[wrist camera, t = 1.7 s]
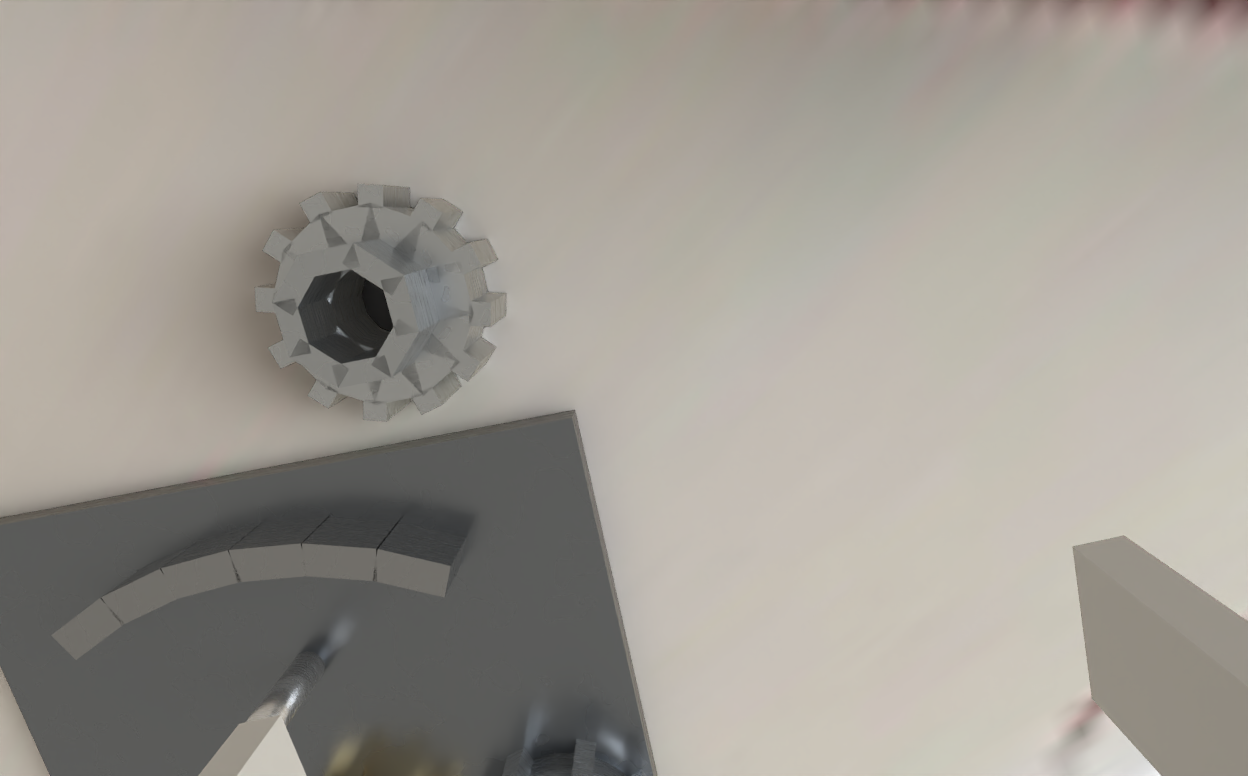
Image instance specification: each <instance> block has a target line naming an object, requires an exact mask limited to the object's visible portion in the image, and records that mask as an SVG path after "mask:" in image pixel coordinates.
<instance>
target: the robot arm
mask: <svg viewBox="0 0 1248 776" xmlns="http://www.w3.org/2000/svg"><path fill="white" fill-rule="evenodd" d="M1073 554H1074V562H1075V570H1076V577H1077V585H1078V593H1079V601H1080V609H1081V617H1082V625H1083V632H1084V640H1085V648H1086V656H1087V664H1088V672H1089V680H1090V688H1091V695H1092V699H1093V700H1094V701H1095V703H1096V704H1097V705H1098V706H1099V707H1100V708H1101V709H1102V710H1103V711H1104V712H1105V714H1106V715H1107V716H1108V717H1109V718H1110V719H1111V720H1112V721H1113V722H1114V724H1115V725H1116V726H1117V727H1118V728H1119V729H1120V730H1121V731H1122V732H1123V734H1124V735H1125V736H1126V737H1127V738H1128V739H1129V740H1130V741H1131V742H1132V744H1133V745H1134V746H1135V747H1136V748H1137V749H1138V750H1139V751H1140V752H1141V753H1142V755H1143V756H1144V757H1145V758H1146V759H1147V760H1148V761H1149V762H1150V763H1151V765H1152V766H1153V767H1154V768H1155V769H1156V770H1157V771H1158V772H1159V773H1160V775H1161V776H1248V621H1247V620H1245V619H1244V618H1242V617H1241V616H1239V615H1238V614H1237V613H1235V612H1234V611H1232V610H1231V609H1229V608H1228V607H1226V606H1225V605H1224V604H1222V603H1221V602H1219V601H1218V600H1216V599H1215V598H1213V597H1212V596H1211V595H1209V594H1208V593H1206V592H1205V591H1203V590H1202V589H1200V588H1199V587H1198V586H1196V585H1195V584H1193V583H1192V582H1190V581H1189V580H1187V579H1186V578H1185V577H1183V576H1182V575H1180V574H1179V573H1177V572H1176V571H1174V570H1173V569H1172V568H1170V567H1169V566H1167V565H1166V564H1164V563H1163V562H1161V561H1160V560H1159V559H1157V558H1156V557H1154V556H1153V555H1151V554H1150V553H1148V552H1147V551H1146V550H1144V549H1143V548H1141V547H1140V546H1138V545H1137V544H1135V543H1134V542H1133V541H1131V540H1130V539H1128V538H1127V537H1125V536H1120V537H1115V538H1110V539H1105V540H1101V541H1096V542H1091V543H1087V544H1082V545H1077V546H1073ZM198 776H306V773H305V771H304V769H303V766H302V764H301V761H300V759H299V757H298V754H297V752H296V750H295V747H294V745H293V743H292V740H291V738H290V736H289V733H288V731H287V728H286V726H285V724H284V721H283V719H282V717H281V715H278V716H273V717H269V718H264V719H259V720H254V721H250V722H245V723H240V724H239V725H238V726H237V727H236V728H235V730H234V731H233V732H232V733H231V735H230V736H229V737H228V739H227V740H226V741H225V742H224V744H223V745H222V746H221V747H220V749H219V750H218V751H217V752H216V754H215V755H214V756H213V758H212V759H211V760H210V761H209V763H208V764H207V765H206V766H205V768H204V769H203V770H202V772H201V773H200V774H199V775H198Z"/></svg>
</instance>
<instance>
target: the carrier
mask: <svg viewBox="0 0 1248 776" xmlns="http://www.w3.org/2000/svg"><path fill="white" fill-rule="evenodd" d="M0 666H1V668H2V671H3V673H4V675H5V677H6V679H7V682H8V684H9V686H10V688H11V690H12V693H13V695H14V697H15V699H16V701H17V704H18V706H19V708H20V710H21V712H22V715H23V717H24V719H25V721H26V723H27V726H28V728H29V730H30V732H31V734H32V737H33V739H34V741H35V743H36V745H37V748H38V750H39V752H40V754H41V756H42V759H43V761H44V763H45V765H46V767H47V770H48V772H49V774H50V776H198V775H199V774H200V773H201V772H202V770H203V769H204V768H205V766H206V765H207V764H208V763H209V761H210V760H211V759H212V758H213V756H214V755H215V754H216V752H217V751H218V750H219V749H220V747H221V746H222V745H223V744H224V742H225V741H226V740H227V739H228V737H229V736H230V735H231V733H232V732H233V731H234V730H235V728H236V727H237V726H238V725H239V724H240V723H245V722H250V721H254V720H259V719H264V718H269V717H273V716H278V715H281V717H282V719H283V721H284V724H285V726H286V728H287V731H288V733H289V736H290V738H291V740H292V743H293V745H294V747H295V750H296V752H297V754H298V757H299V759H300V761H301V764H302V766H303V769H304V771H305V773H306V776H657V771H656V767H655V762H654V758H653V753H652V749H651V745H650V740H649V736H648V731H647V727H646V722H645V718H644V714H643V709H642V705H641V700H640V696H639V691H638V687H637V683H636V678H635V674H634V669H633V665H632V660H631V656H630V652H629V647H628V643H627V638H626V634H625V629H624V625H623V621H622V616H621V612H620V607H619V603H618V598H617V594H616V590H615V585H614V581H613V576H612V572H611V567H610V563H609V559H608V554H607V550H606V545H605V541H604V536H603V532H602V528H601V523H600V519H599V514H598V510H597V505H596V501H595V497H594V492H593V488H592V483H591V479H590V475H589V470H588V466H587V461H586V457H585V452H584V448H583V444H582V439H581V435H580V430H579V426H578V421H577V417H576V413H575V410H572V411H567V412H561V413H556V414H551V415H546V416H540V417H535V418H530V419H524V420H519V421H514V422H508V423H503V424H498V425H492V426H487V427H482V428H476V429H471V430H466V431H460V432H455V433H450V434H444V435H439V436H434V437H428V438H423V439H418V440H412V441H407V442H402V443H397V444H391V445H386V446H381V447H375V448H370V449H365V450H359V451H354V452H349V453H343V454H338V455H333V456H327V457H322V458H317V459H311V460H306V461H301V462H295V463H290V464H285V465H279V466H274V467H269V468H263V469H258V470H253V471H247V472H242V473H237V474H232V475H226V476H221V477H216V478H210V479H205V480H200V481H194V482H189V483H184V484H178V485H173V486H168V487H162V488H157V489H152V490H146V491H141V492H136V493H130V494H125V495H120V496H114V497H109V498H104V499H98V500H93V501H88V502H82V503H77V504H72V505H67V506H61V507H56V508H51V509H45V510H40V511H35V512H29V513H24V514H19V515H13V516H8V517H3V518H0Z"/></svg>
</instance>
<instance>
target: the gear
mask: <svg viewBox="0 0 1248 776" xmlns="http://www.w3.org/2000/svg"><path fill="white" fill-rule="evenodd" d="M299 204H300V206H301V207H302V209H303V211H304V213H305V214H306V216H307V218H308V220H309V221H310V223H309V224H308V225H307V226H306V227H305V228H292V229H276V230H273V231H272V233H271V235H270V237H269V239H268V241H267V243H266V245H265V247H264V248H263V250H262V251H263V252H265V253H266V254H268V255H270V256H271V257H273V258H274V259H276V260H277V261H279V262H280V267H279V271H278V276H277V281H276V283H273V284H268V285H263V286H258V287H255V301H256V312H270V313H275V314H276V317H277V321H278V324H279V327H280V330H281V333H282V336H283V340H282V341H280V342H278V343H276V344H274V345H272V346H270V347H268V349H269V351H270V352H271V354H272V355H273V357H274V359H275V360H276V362H277V364H278V365H279V367H280V369H282V368H284V367H286V366H288V365H291V364H293V363H295V362H297V363H299V364H300V365H302V366H303V367H304V368H305V369H306V370H307V371H308V372H309V373H310V374H311V375H312V376H313V377H314V378H315V379H316V382H315V384H314V385H313V387H312V389H311V391H310V392H309V394H308V396H309V397H310V398H312V399H314V400H315V401H317V402H319V403H320V404H322V405H323V406H325V407H327V408H330V407H332V406H333V405H335V404H336V403H338V402H340V401H341V400H343V399H344V398H346V397H347V396H349V397H352V398H355V399H358V400H361V401H363V420H372V421H386V422H387V421H388V420H389V419H391V418H392V417H393V416H394V415H395V414H397V413H398V412H399V411H400V410H401V409H403V408H404V407H405V406H406V405H408V404H409V403H410V402H411V398H412V399H413V401H414V403H415V404H416V406H417V408H418V410H419V411H420V413H421V415H423V414H425V413H427V412H429V411H431V410H433V409H435V408H437V407H439V406H441V405H442V404H444V403H445V402H446V401H447V400H448V399H449V398H450V397H451V396H452V395H453V394H454V393H455V392H456V391H457V390H458V389H459V388H460V387H461V384H460V382H459V381H458V379H457V377H456V375H455V374H457V375H459V376H460V377H462V378H463V379H465V380H466V381H469V380H470V379H471V378H472V377H473V376H474V375H475V374H476V373H477V372H478V371H479V370H480V369H481V368H482V367H483V366H484V365H485V364H486V363H487V361H488V360H489V358H490V356H491V355H492V353H493V352H494V350H495V348H496V346H494V345H492V344H491V343H489V342H488V341H486V340H485V339H483V338H482V337H481V335H482V332H483V328H484V327H491V326H493V325H494V324H495V323H497V322H498V321H499V320H501V319H502V318H503V317H504V316H506V293H494V292H488V290H487V286H486V282H485V278H484V274H483V270H482V267H484V266H486V265H488V264H490V263H492V262H494V261H496V260H498V258H497V256H496V254H495V252H494V251H493V249H492V247H491V245H490V243H489V241H488V239H484V240H479V241H474V242H469V243H467V242H466V241H465V240H464V239H463V238H462V237H461V236H460V235H459V233H458V232H457V231H456V230H455V229H454V227H455V225H456V223H457V221H458V220H459V218H460V216H461V215H462V213H463V212H462V211H461V210H459V209H458V208H456V207H455V206H453V205H452V204H450V203H449V202H447V201H446V200H444V199H430V198H420V200H419V202H418V204H417V205H416V207H415V209H414V208H412V207H410V187H398V186H386V185H371V184H358V201H357V199H356V197H355V195H354V193H338V192H319V193H317V194H315V195H314V196H312V197H310V198H308V199H306V200H304V201H303V202H301V203H299ZM365 279H367V280H368V281H370V282H372V283H373V284H375V285H376V286H378V287H379V288H381V289H383V290H384V294H385V298H386V301H387V305H388V308H389V312H390V316H391V319H392V323H393V326H394V327H393V329H392V330H391V332H389V331H386V330H383V329H381V328H380V327H379V326H378V325H377V324H376V323H375V322H374V321H373V320H372V319H371V318H370V317H369V316H368V314H367V312H366V308H365V305H364V301H363V298H362V292H363V287H364V283H365ZM454 373H455V374H454Z"/></svg>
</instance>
